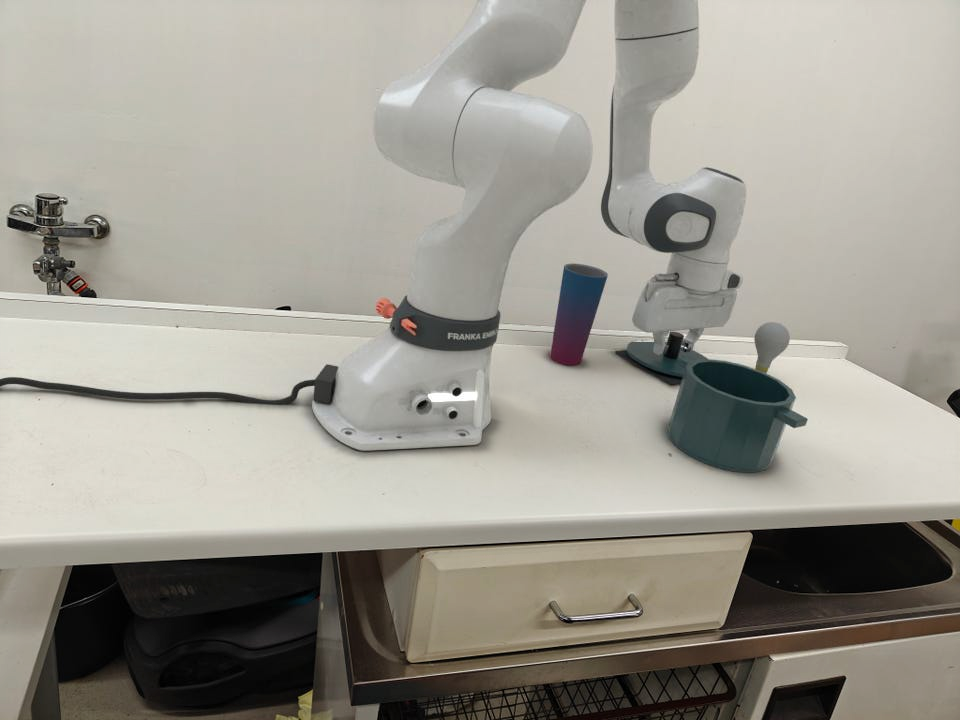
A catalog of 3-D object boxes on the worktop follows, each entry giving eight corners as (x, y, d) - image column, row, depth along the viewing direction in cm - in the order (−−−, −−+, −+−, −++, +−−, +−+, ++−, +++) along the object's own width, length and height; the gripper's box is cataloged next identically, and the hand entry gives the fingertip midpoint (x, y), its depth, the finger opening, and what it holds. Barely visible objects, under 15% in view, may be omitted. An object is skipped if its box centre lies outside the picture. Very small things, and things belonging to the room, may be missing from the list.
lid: (671, 385, 112) (680, 355, 110) (608, 349, 123) (615, 320, 121) (730, 376, 120) (739, 348, 118) (666, 343, 131) (673, 316, 129)
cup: (584, 371, 112) (607, 280, 107) (542, 361, 113) (562, 270, 108) (587, 357, 119) (608, 269, 113) (547, 347, 119) (566, 260, 114)
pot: (744, 492, 85) (770, 422, 82) (633, 418, 99) (650, 355, 96) (810, 473, 93) (836, 407, 89) (697, 407, 107) (716, 348, 103)
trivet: (670, 385, 113) (671, 383, 113) (614, 353, 123) (615, 350, 123) (723, 377, 120) (724, 375, 120) (666, 347, 130) (667, 345, 130)
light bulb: (781, 383, 123) (801, 328, 119) (761, 385, 120) (780, 329, 116) (756, 369, 127) (774, 316, 123) (735, 372, 124) (753, 317, 120)
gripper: (665, 280, 107) (642, 365, 112) (750, 278, 119) (725, 355, 124) (635, 267, 112) (614, 349, 117) (720, 266, 123) (697, 341, 129)
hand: (672, 352), depth 121 cm, fingers open, 5 cm apart
